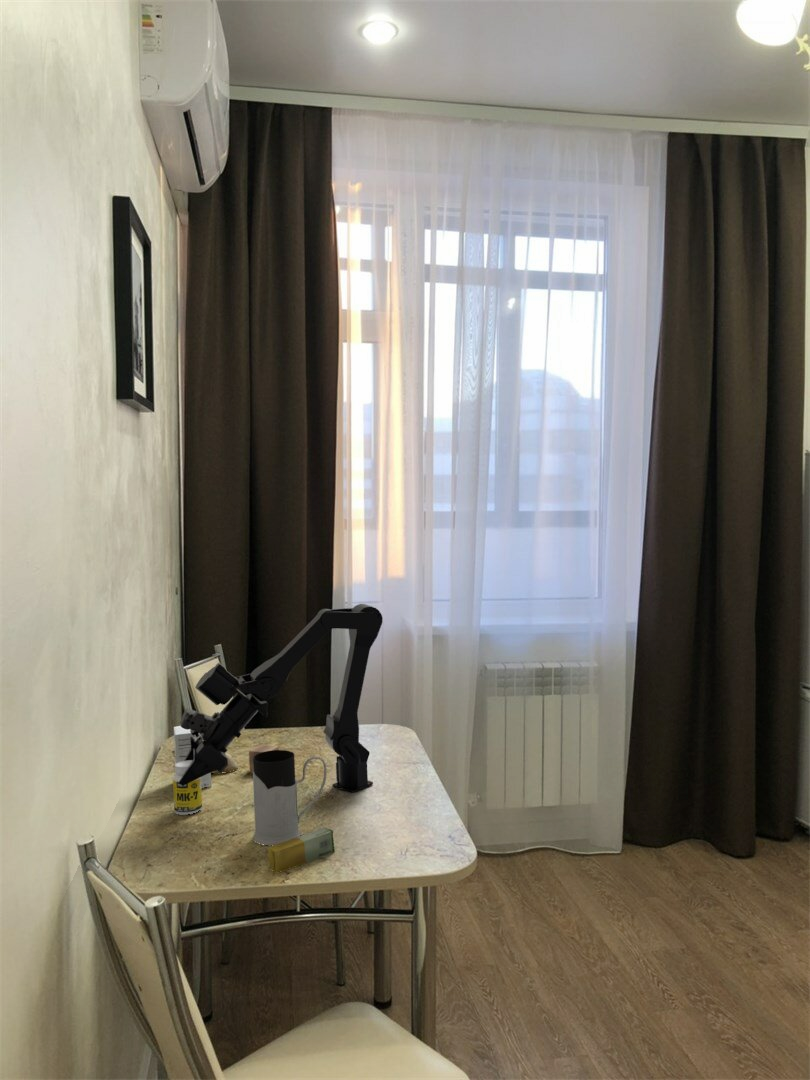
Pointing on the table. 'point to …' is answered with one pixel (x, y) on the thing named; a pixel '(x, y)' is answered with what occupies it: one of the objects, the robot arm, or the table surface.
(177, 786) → the supplement bottle
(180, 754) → the supplement box
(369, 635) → the robot arm
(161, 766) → the table surface
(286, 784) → the glass holder
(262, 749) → the tan cube
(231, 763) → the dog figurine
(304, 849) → the medication box
